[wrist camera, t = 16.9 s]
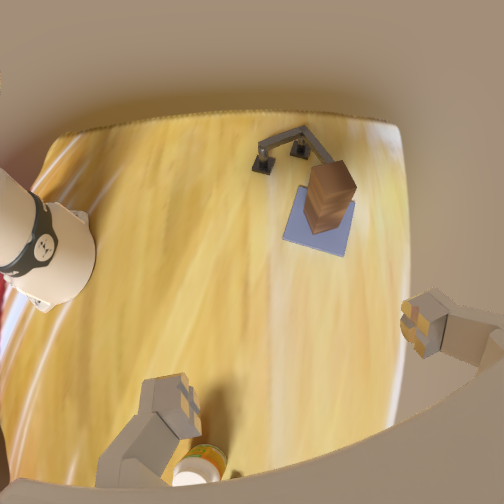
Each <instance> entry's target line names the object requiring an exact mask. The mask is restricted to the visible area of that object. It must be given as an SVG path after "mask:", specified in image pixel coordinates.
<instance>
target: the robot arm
mask: <svg viewBox="0 0 504 504" xmlns="http://www.w3.org/2000/svg"><path fill="white" fill-rule="evenodd" d="M0 93H1V72H0ZM94 262H95V244H94V240H93V237H92V235H91V233H90V230H89V218H88V214H87V213H85V212H84V211H76V210H68V209H67V208H65V207H64V206H63V205H61V204H60V203H58V202H55V203H52V202H48V203H45V202H44V201H43V200H42V199H41V198H40V197H39V196H37V195H36V194H34V193H32V192H31V191H26V190H25V189H24V188H22V187H21V186H20V185H19V184H18V183H17V182H16V181H15V180H14V179H12V178H11V177H10V176H9V175H8V174H7V173H6V172H5V171H4V170H3V169H1V168H0V273H2V274H4V279H5V280H6V281H7V282H8V283H10V284H11V286H12V287H13V288H15V289H17V290H18V291H20V292H22V293H24V294H25V295H26V296H27V297H28V298H29V299H30V301H31V302H32V303H33V304H34V305H35V306H36V307H37V309H38V310H39V311H41V312H43V313H47V312H48V311H50V310H51V309H52V308H53V307H54V306H55V305H57V304H60V303H64V302H67V301H69V300H71V299H72V298H74V297H75V296H76V295H77V294H78V293H79V292H80V291H81V290H82V289H83V288H84V286H85V285H86V283H87V281H88V280H89V278H90V275H91V273H92V270H93V266H94ZM40 301H41V302H40ZM401 311H402V312H403V313H404V314H403V316H402V318H401V319H400V327H401V331H402V334H403V336H404V337H405V339H406V340H407V341H408V342H411V343H414V349H415V350H416V352H417V353H418V354H419V355H420V356H421V357H422V359H425V358H427V357H429V356H431V355H433V354H435V353H437V352H438V351H440V350H441V351H440V352H443V353H445V354H448V355H450V356H452V357H454V358H457V359H459V360H461V361H464V362H466V363H468V364H471V365H473V366H475V367H478V369H477V371H476V374H475V376H474V379H472V380H471V381H469V382H468V383H467V384H465V385H463V386H462V387H461V388H459V389H457V390H456V391H454V392H453V393H451V394H450V395H448V396H446V397H445V398H443V399H441V400H440V401H438V402H437V403H435V404H433V405H431V406H430V407H428V408H426V409H424V410H422V411H421V412H419V413H417V414H415V415H413V416H411V417H410V418H408V419H406V420H404V421H402V422H400V423H398V424H396V425H394V426H392V427H390V428H388V429H385V430H383V431H381V432H379V433H377V434H374V435H372V436H370V437H368V438H365V439H363V440H361V441H358V442H356V443H353V444H351V445H348V446H346V447H343V448H341V449H338V450H335V451H333V452H330V453H327V454H324V455H321V456H318V457H315V458H312V459H309V460H306V461H303V462H299V463H296V464H293V465H289V466H286V467H282V468H278V469H274V470H270V471H266V472H262V473H258V474H253V475H249V476H244V477H239V478H234V479H228V480H222V481H216V482H209V483H202V484H194V485H185V486H174V487H171V486H170V485H168V484H167V483H166V482H164V481H163V480H162V479H160V477H161V475H162V473H163V471H164V470H165V468H166V466H167V464H168V462H169V460H170V459H171V457H172V455H173V453H174V451H175V449H176V448H177V446H178V444H179V442H180V441H179V440H182V439H188V438H193V437H198V436H202V431H201V420H200V419H199V417H198V416H197V415H198V414H199V412H200V404H199V400H198V396H197V394H196V391H195V390H194V388H193V387H191V386H189V381H188V378H187V376H186V375H185V373H178V374H173V375H168V376H162V377H157V378H153V379H146V380H144V381H143V383H142V388H141V395H140V402H139V410H138V415H134V416H133V418H132V419H131V420H130V421H129V422H128V424H127V425H126V426H125V427H124V429H123V430H122V431H121V432H120V433H119V435H118V436H117V437H116V438H115V440H114V441H113V442H112V443H111V444H110V446H109V447H108V448H107V449H106V450H105V452H104V453H103V454H102V455H101V456H100V458H99V461H98V467H97V474H96V481H95V487H83V486H73V485H64V484H56V483H50V482H43V481H38V480H32V479H28V478H17V479H15V480H14V481H13V482H11V483H10V484H9V485H8V486H7V487H6V488H5V489H4V490H3V491H2V492H1V493H0V504H504V315H502V314H497V313H493V312H489V311H484V310H480V309H475V308H471V307H467V306H462V307H460V306H459V305H457V304H456V303H455V302H454V301H453V300H451V299H450V298H449V297H448V296H446V295H445V294H444V293H443V292H442V291H440V290H439V289H438V288H436V287H433V288H430V289H428V290H426V291H424V292H423V293H420V294H418V295H416V296H414V297H411V298H409V299H407V300H405V301H403V303H402V305H401Z"/></svg>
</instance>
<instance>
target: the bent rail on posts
mask: <svg viewBox="0 0 504 504" xmlns="http://www.w3.org/2000/svg"><path fill="white" fill-rule="evenodd" d="M296 139H298V141H294V144H293V147H292V149H291V152H290V155H292V156H295V157H299V158H303V159H307V160H308V157H309V153H310V150H311V149H312V151H313V152H314V153H315V155H316V156H317V157H318V158H319V160H320V161H321V162H322V164H327V163H332V162H335V161H334V160H333V159H332V157H331V156H330V155H329V154H328V152H327V151H326V150H325V149H324V147H323V146H322V145H321V144H320V143H319V141H318V140H317V139H316V138H315V136H314V135H313V134H312V133H311V132H310V130H309V129H308V128H307V127H306V126H304V125H303V126H301V127H298V128H295V129H292V130H289V131H286V132H284V133H281V134H278V135H276V136H273V137H270V138H268V139H265V140H262V141H260V142H258V152H259V155H257V157H256V160H255V162H254V164H253V167H252V171H255V172H259V173H263V174H267V175H270V173H271V171H272V168H273V166H274V163H275V159H273V158H269V157H268V150H270V149H272V148H275V147H277V146H280V145H283V144H285V143H288V142H291V141H293V140H296Z"/></svg>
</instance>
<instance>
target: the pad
mask: <svg viewBox="0 0 504 504" xmlns="http://www.w3.org/2000/svg"><path fill="white" fill-rule="evenodd" d="M307 190H308V189H307V188H304V187H300V186H299V188H298V192H297V195H296V198H295V201H294V204H293V207H292V211H291V214H290V217H289V220H288V223H287V226H286V230H285V233H284V236H283V240H286V241H290V242H293V243H297V244H300V245H303V246H307V247H310V248H314V249H317V250H320V251H324V252H327V253H330V254H334V255H337V256H340V257H344V254H345V249H346V245H347V240H348V236H349V231H350V226H351V222H352V217H353V212H354V207H355V203H354V202H350V204H349V206H348V208H347V210H346V212H345V214H344V217H343V219H342V221H341V223H340V225H339V227H338V228H336V229H333V230H329V231H326V232H322V233H319V234H316V235H313V234H312V232H311V229H310V227H309V224H308V222H307V219H306V217H305V215H304V212H303V210H304V205H305V200H306V195H307Z"/></svg>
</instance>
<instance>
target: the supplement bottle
mask: <svg viewBox="0 0 504 504" xmlns="http://www.w3.org/2000/svg"><path fill="white" fill-rule="evenodd" d="M226 466H227V460H226V457H225V455H224V453H223V452H222V451H221V450H220V449H219V448H217V447H215V446H213V445H209V444H200V445H197V446H195V447H193V448H192V449H191V450H190V451H189V452H188V453H187V454H186V455H185V456H184V457H183V458H182V459H181V460H180V461H179V462H178V464H177V465H176V466H175V468H174V472H173V476H174V478H173V481H172V484H173V487H174V486H185V485H194V484H202V483H209V482H216V481H221V479H222V476H223V474H224V472H225V469H226Z"/></svg>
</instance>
